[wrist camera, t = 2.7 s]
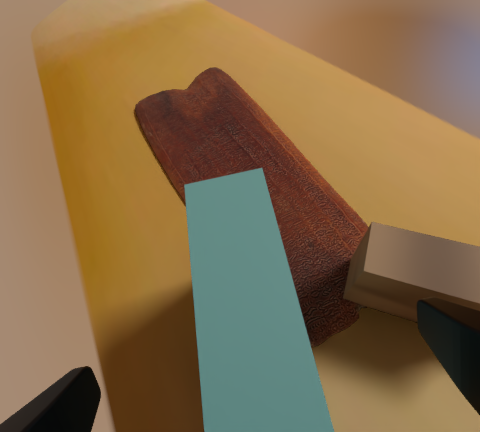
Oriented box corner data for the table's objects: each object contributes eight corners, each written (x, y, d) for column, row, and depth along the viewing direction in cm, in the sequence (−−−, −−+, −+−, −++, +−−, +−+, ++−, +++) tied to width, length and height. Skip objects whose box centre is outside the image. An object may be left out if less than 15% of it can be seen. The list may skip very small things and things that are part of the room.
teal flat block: (311, 427, 14) (349, 491, 6) (251, 438, 14) (210, 516, 6) (270, 256, 18) (262, 167, 10) (225, 266, 18) (184, 184, 11)
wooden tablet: (133, 113, 29) (125, 99, 27) (219, 73, 30) (215, 58, 29) (276, 376, 15) (275, 375, 14) (417, 281, 17) (430, 272, 15)
